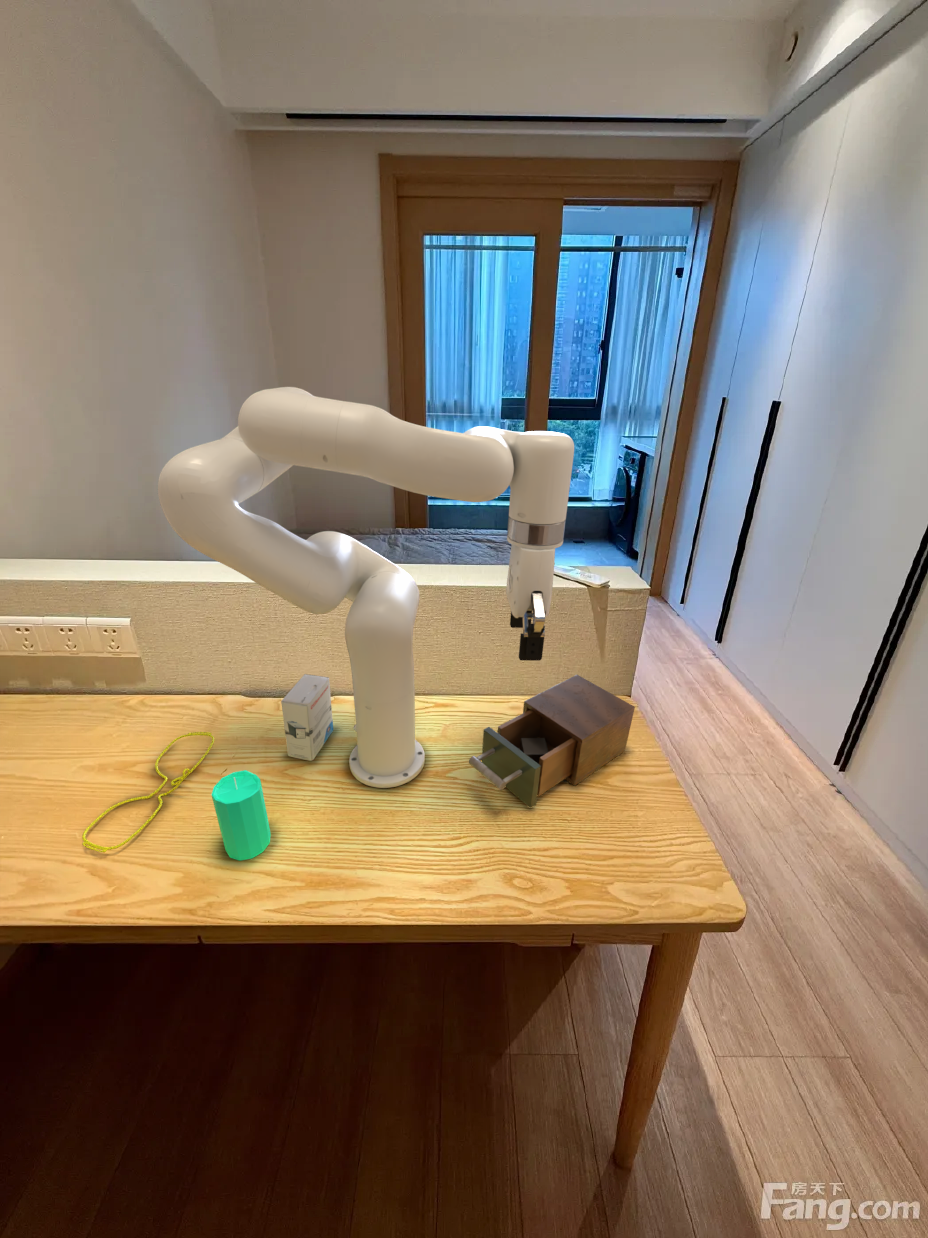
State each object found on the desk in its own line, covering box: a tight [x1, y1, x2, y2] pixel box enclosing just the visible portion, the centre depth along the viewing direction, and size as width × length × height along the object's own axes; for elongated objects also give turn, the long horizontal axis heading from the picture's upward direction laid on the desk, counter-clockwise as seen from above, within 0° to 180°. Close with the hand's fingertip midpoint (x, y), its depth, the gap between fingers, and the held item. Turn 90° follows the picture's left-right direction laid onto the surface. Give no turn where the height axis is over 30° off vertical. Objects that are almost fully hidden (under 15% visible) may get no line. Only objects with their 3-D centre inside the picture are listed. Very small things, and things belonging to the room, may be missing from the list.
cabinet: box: [522, 674, 636, 786], centre depth 90 cm, size 14×13×10 cm
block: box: [520, 738, 548, 764], centre depth 84 cm, size 4×4×4 cm
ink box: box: [280, 673, 334, 762], centre depth 88 cm, size 9×5×12 cm, turn 168°
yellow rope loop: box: [81, 731, 215, 853], centre depth 79 cm, size 25×10×5 cm, turn 172°
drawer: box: [468, 709, 578, 809], centre depth 83 cm, size 18×11×8 cm, turn 130°
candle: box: [211, 769, 272, 862], centre depth 70 cm, size 6×6×12 cm
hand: (524, 642), depth 76 cm, fingers open, 9 cm apart
